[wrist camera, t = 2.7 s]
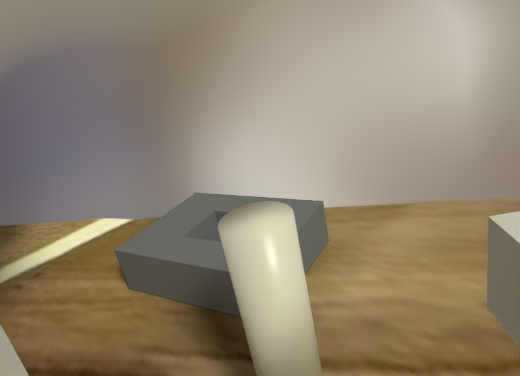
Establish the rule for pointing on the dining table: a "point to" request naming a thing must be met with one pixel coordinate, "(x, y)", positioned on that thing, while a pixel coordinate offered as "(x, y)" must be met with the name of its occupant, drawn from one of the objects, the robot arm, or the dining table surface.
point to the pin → (271, 288)
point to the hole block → (205, 250)
